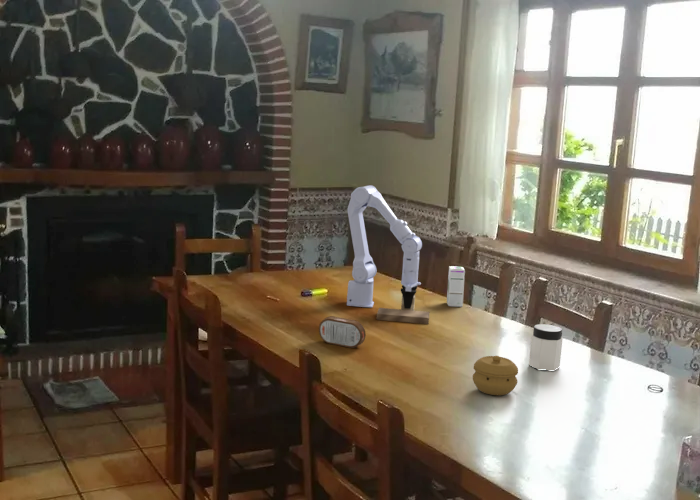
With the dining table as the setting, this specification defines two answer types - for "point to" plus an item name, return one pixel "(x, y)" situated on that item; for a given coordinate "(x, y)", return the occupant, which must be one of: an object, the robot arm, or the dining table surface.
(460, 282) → the syrup box
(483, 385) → the pot
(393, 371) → the dining table surface
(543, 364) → the jar
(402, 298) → the oak block
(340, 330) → the tin
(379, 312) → the walnut slab
